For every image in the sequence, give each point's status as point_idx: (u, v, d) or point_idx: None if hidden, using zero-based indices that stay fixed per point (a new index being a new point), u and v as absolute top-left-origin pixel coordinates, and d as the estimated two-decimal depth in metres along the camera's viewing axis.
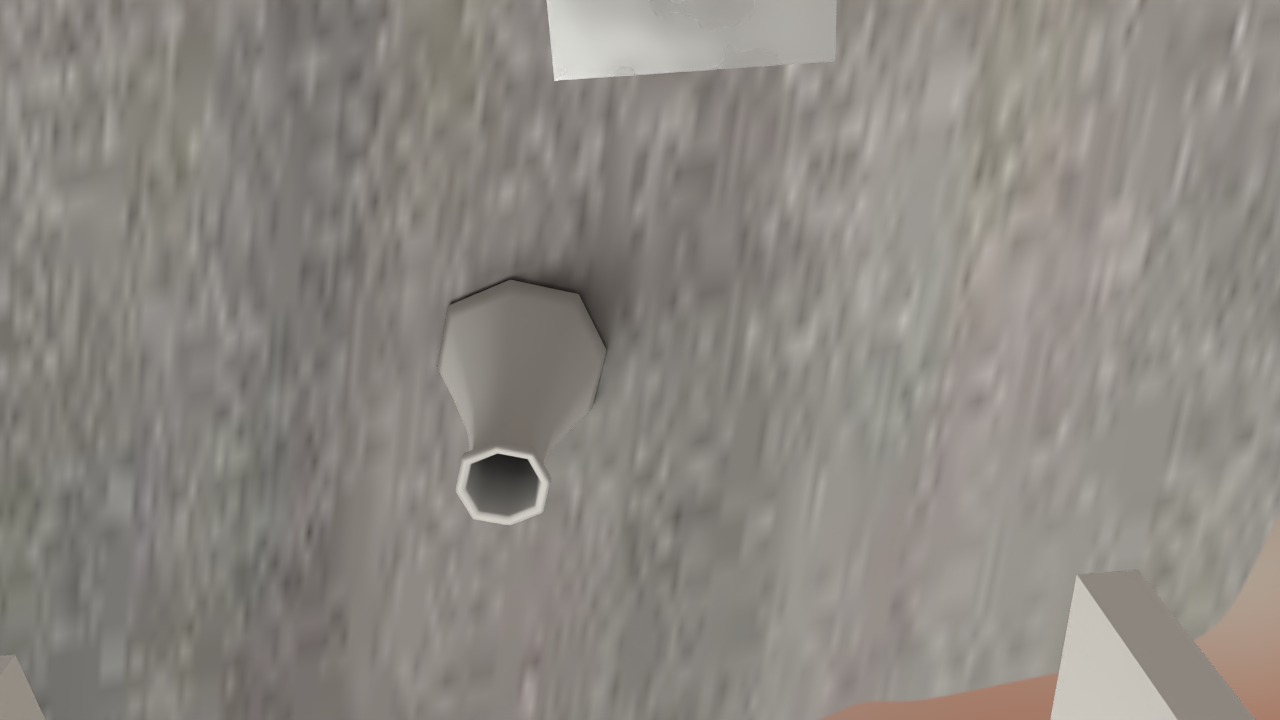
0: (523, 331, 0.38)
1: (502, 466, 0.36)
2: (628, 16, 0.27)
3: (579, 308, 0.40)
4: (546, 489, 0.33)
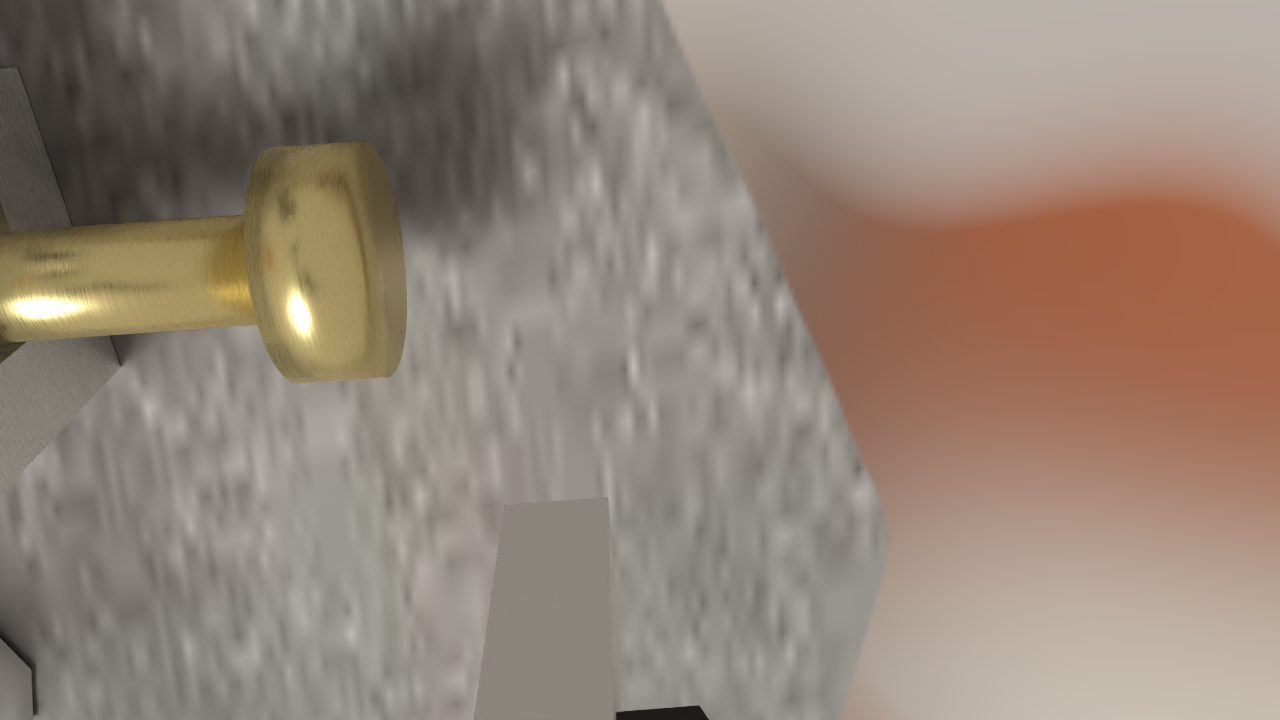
0: None
1: None
2: None
3: None
4: None
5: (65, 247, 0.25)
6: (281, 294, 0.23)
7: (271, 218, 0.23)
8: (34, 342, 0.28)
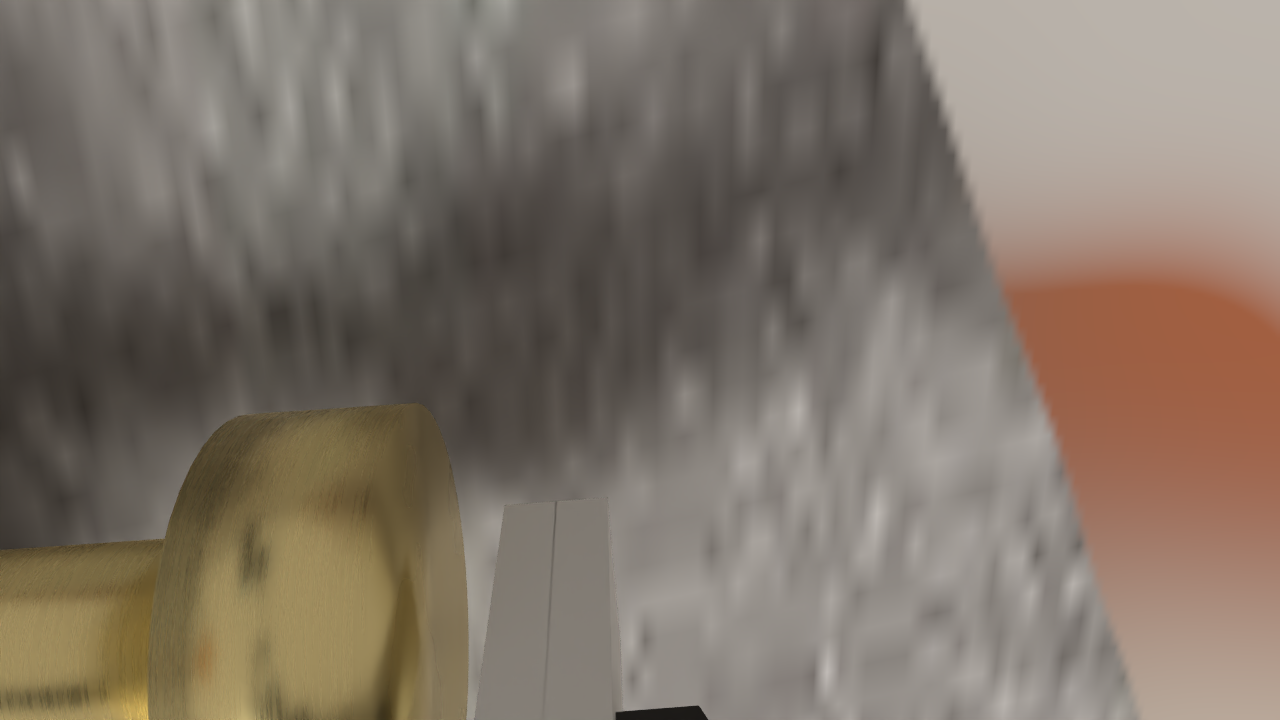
0: None
1: None
2: None
3: None
4: None
5: None
6: None
7: (209, 638, 0.11)
8: None
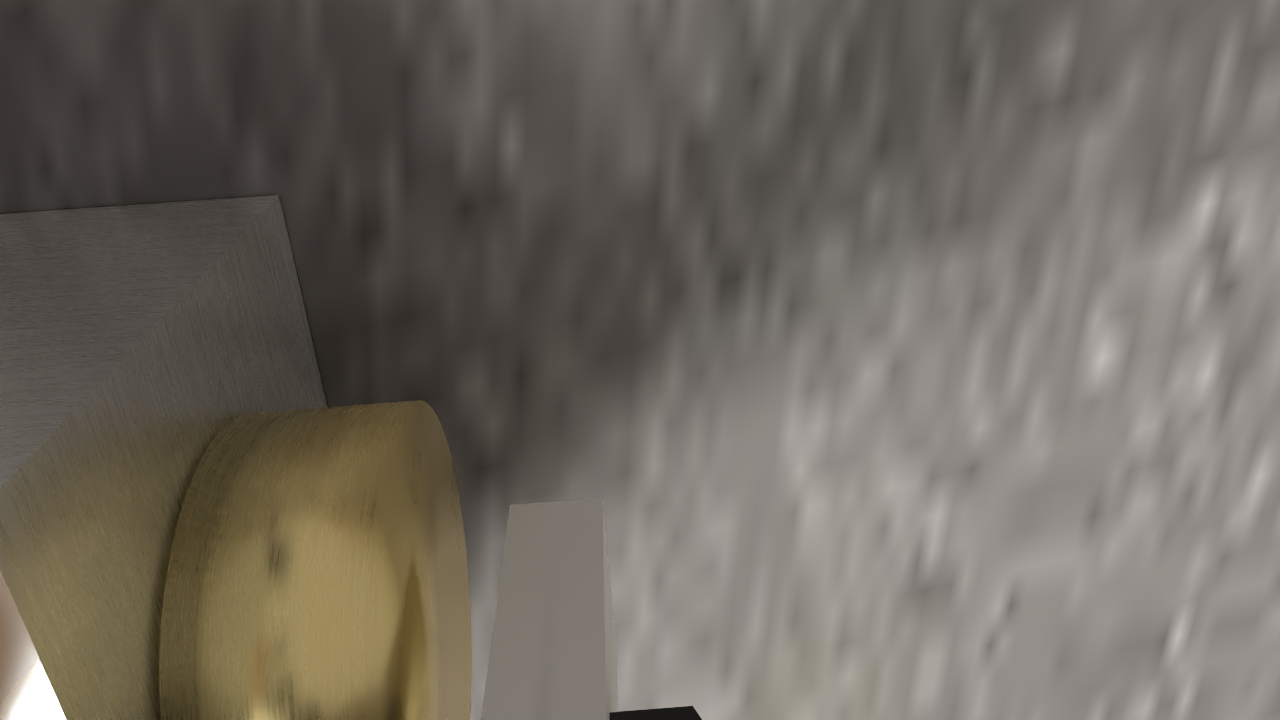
0: None
1: None
2: None
3: None
4: None
5: None
6: None
7: (220, 635, 0.11)
8: None
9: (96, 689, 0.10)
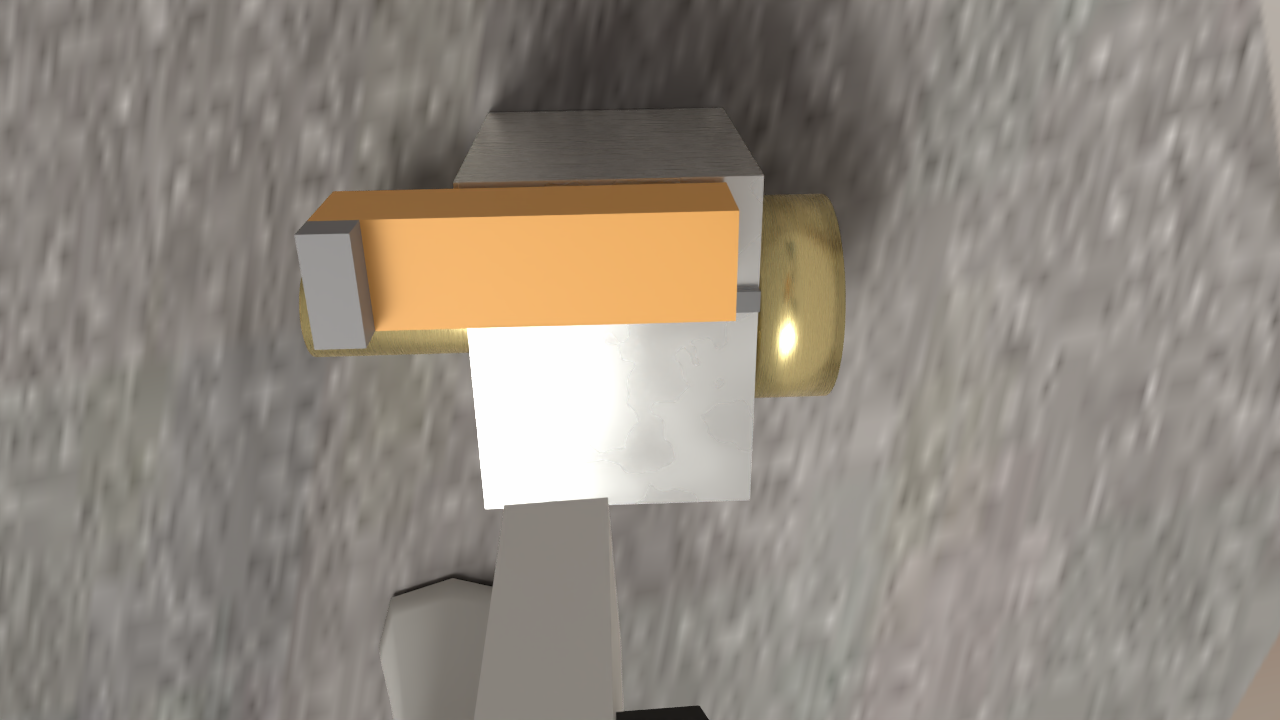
0: (460, 642, 0.39)
1: None
2: (556, 461, 0.28)
3: None
4: None
5: None
6: (787, 322, 0.28)
7: (783, 258, 0.28)
8: None
9: None
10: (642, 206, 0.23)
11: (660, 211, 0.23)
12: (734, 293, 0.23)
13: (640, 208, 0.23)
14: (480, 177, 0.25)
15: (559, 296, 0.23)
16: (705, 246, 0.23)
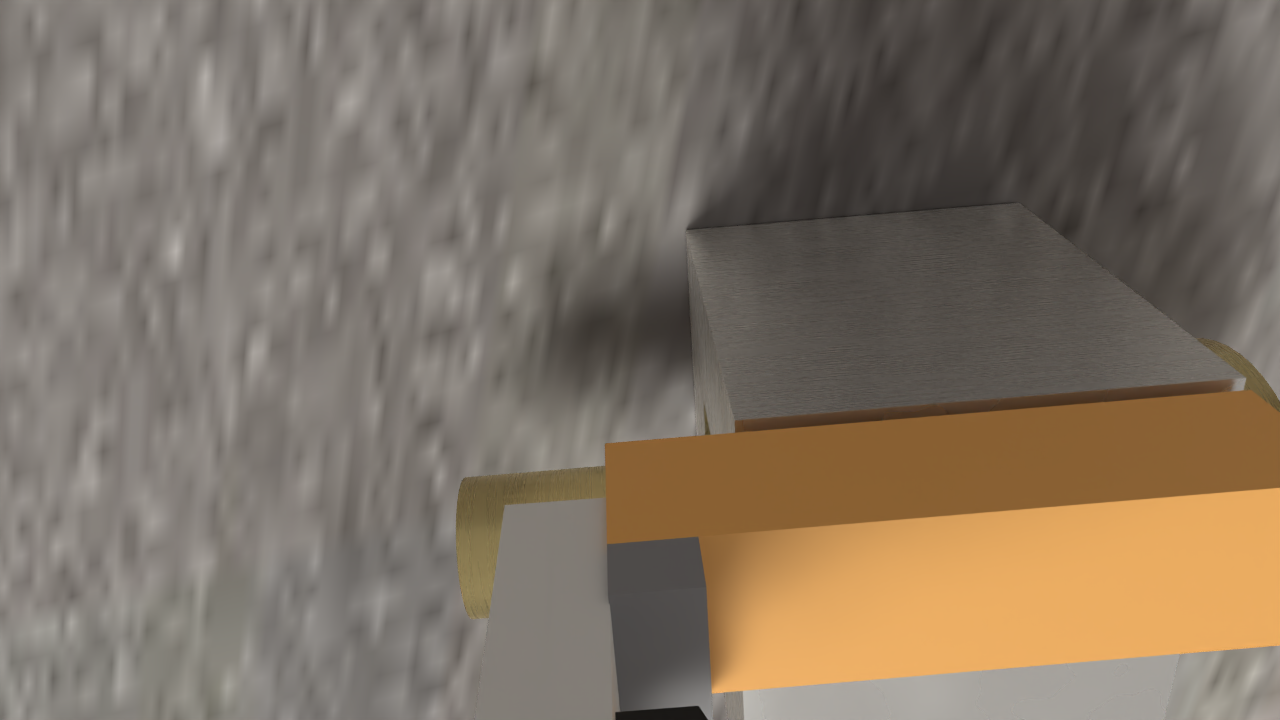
0: None
1: None
2: None
3: None
4: None
5: None
6: None
7: None
8: None
9: None
10: (1174, 471, 0.13)
11: (1220, 487, 0.13)
12: None
13: (1176, 478, 0.13)
14: (770, 401, 0.15)
15: (1026, 626, 0.14)
16: None
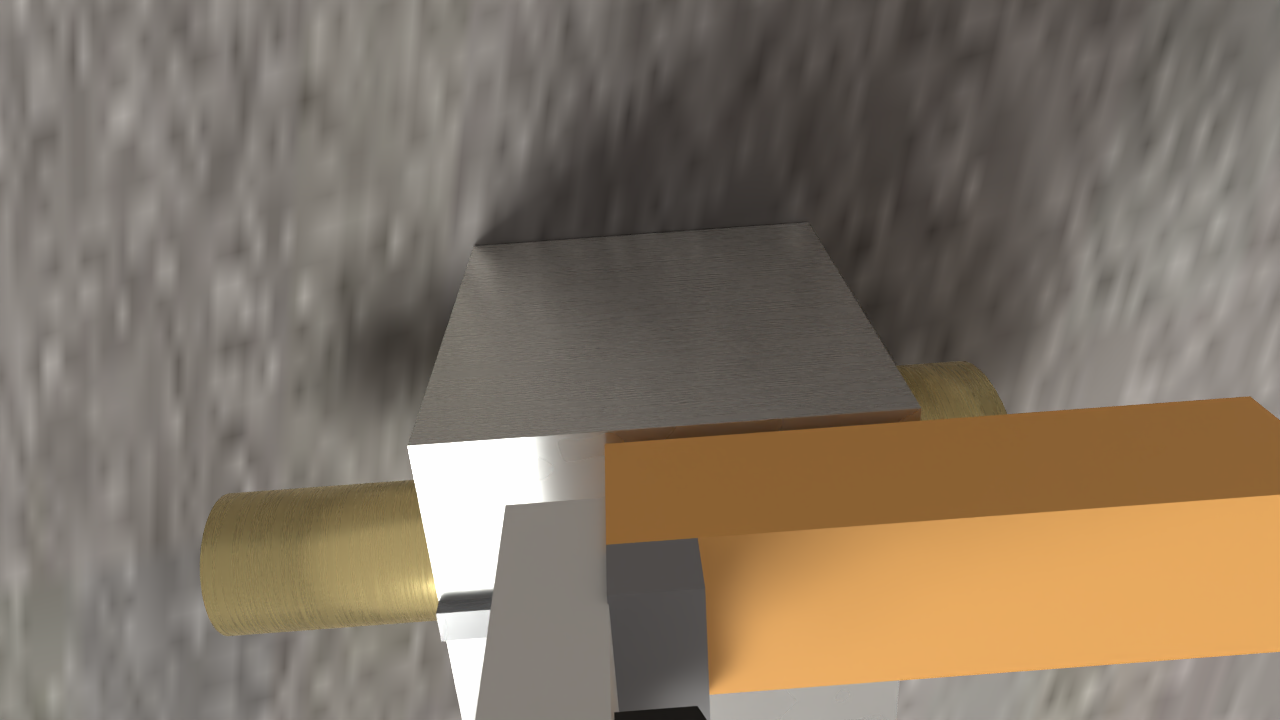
0: None
1: None
2: None
3: None
4: None
5: None
6: None
7: None
8: None
9: None
10: (1173, 477, 0.13)
11: (1220, 493, 0.13)
12: None
13: (1175, 484, 0.13)
14: (453, 426, 0.15)
15: (1022, 630, 0.14)
16: None
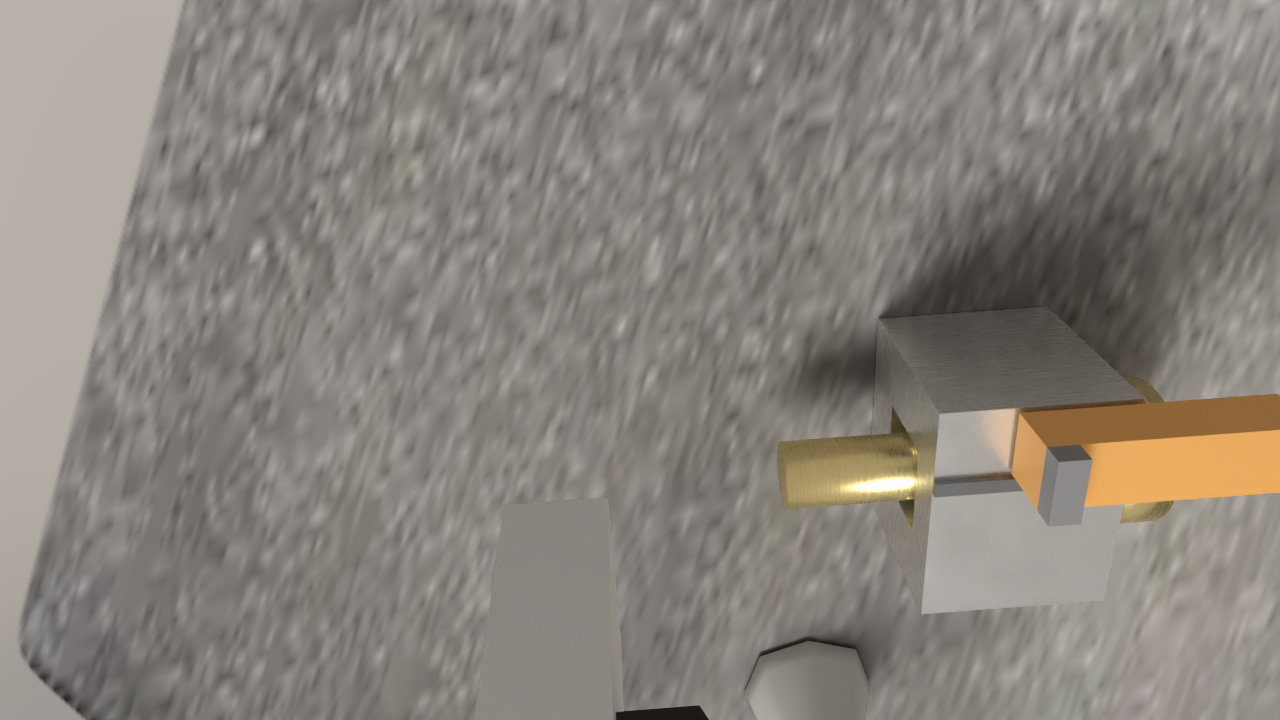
0: (827, 691, 0.52)
1: None
2: (975, 581, 0.41)
3: (856, 660, 0.54)
4: None
5: None
6: None
7: None
8: None
9: None
10: (1249, 423, 0.35)
11: (1267, 429, 0.35)
12: None
13: (1250, 426, 0.35)
14: (951, 406, 0.38)
15: (1192, 482, 0.36)
16: None
